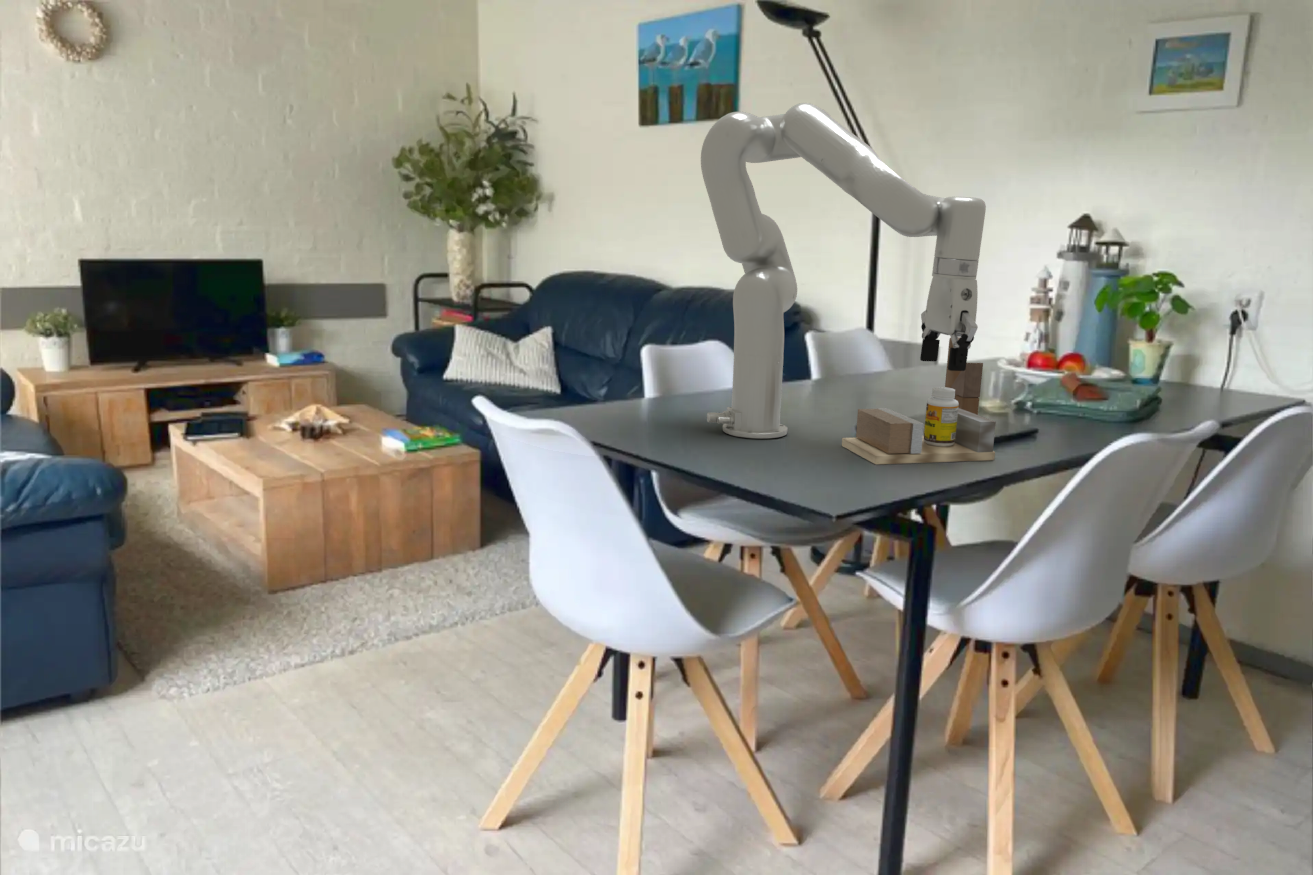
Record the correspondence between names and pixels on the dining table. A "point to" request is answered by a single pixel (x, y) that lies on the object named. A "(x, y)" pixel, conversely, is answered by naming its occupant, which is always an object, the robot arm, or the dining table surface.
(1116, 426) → the dining table surface
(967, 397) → the wooden block
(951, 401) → the supplement bottle
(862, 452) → the vise bed
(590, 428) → the dining table surface
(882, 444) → the block
